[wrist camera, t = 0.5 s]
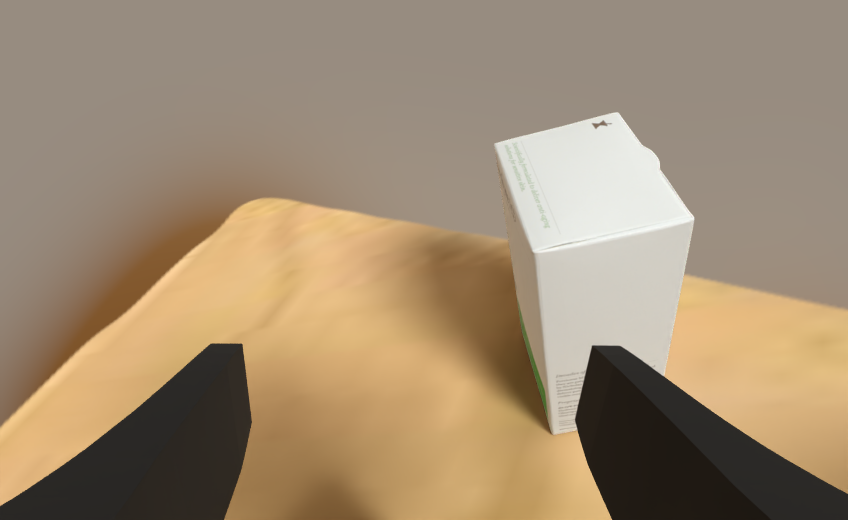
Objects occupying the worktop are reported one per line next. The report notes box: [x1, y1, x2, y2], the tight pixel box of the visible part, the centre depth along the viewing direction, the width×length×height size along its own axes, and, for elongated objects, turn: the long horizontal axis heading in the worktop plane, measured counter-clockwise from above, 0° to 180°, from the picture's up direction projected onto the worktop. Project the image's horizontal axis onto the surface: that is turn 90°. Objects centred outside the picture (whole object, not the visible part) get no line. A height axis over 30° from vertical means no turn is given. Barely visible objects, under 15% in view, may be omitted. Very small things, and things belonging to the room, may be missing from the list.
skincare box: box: [494, 112, 694, 435], centre depth 28 cm, size 8×7×16 cm
